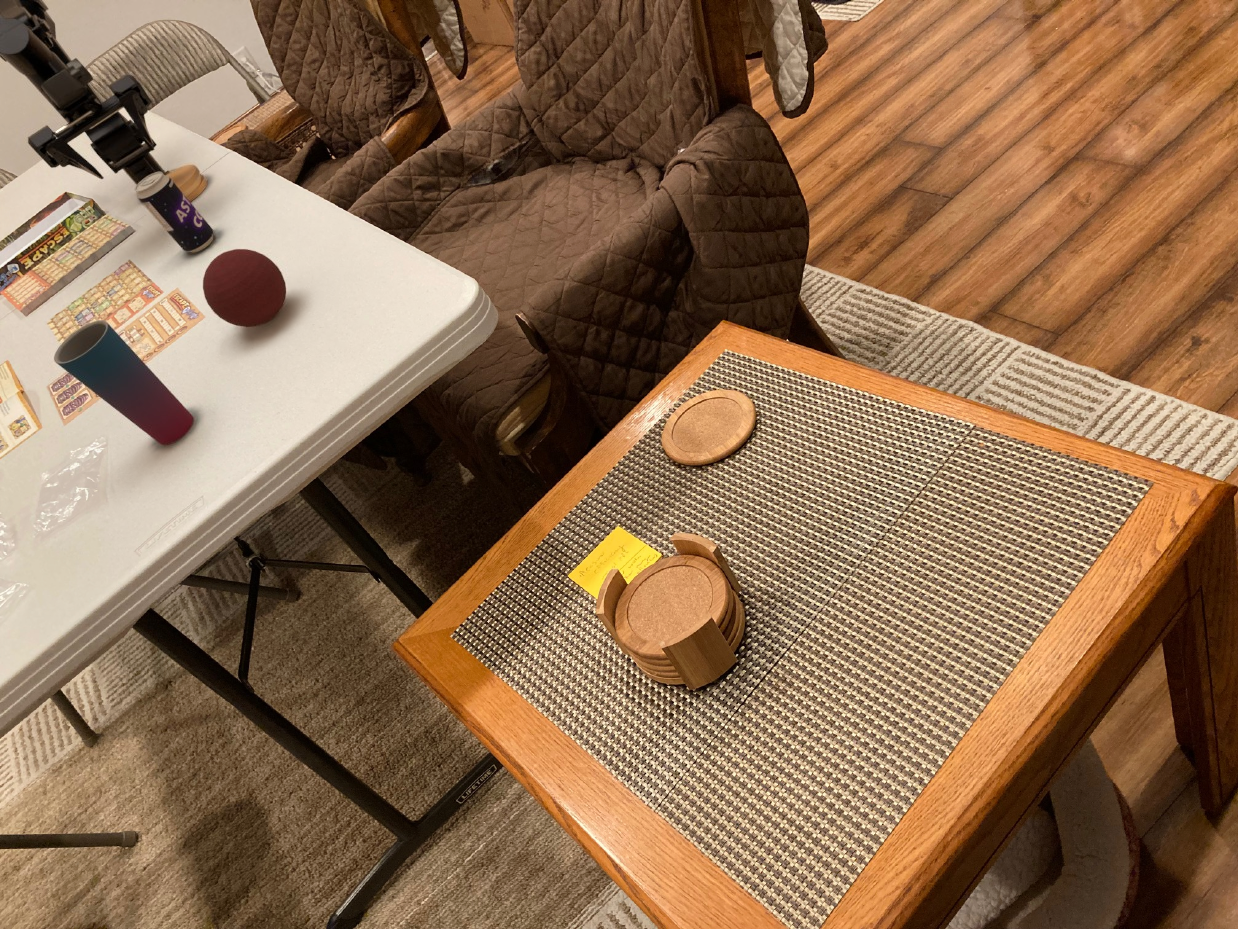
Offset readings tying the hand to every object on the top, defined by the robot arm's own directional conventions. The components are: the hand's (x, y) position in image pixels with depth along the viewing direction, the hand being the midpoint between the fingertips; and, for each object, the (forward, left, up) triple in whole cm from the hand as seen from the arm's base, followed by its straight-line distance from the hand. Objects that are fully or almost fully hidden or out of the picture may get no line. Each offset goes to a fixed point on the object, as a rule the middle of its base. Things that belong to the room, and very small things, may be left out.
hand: (127, 160), depth 136 cm
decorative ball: (+43, +6, -14) cm, 45 cm away
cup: (+55, -10, -14) cm, 57 cm away
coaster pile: (-18, +1, -14) cm, 22 cm away
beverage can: (+8, +1, -14) cm, 16 cm away
